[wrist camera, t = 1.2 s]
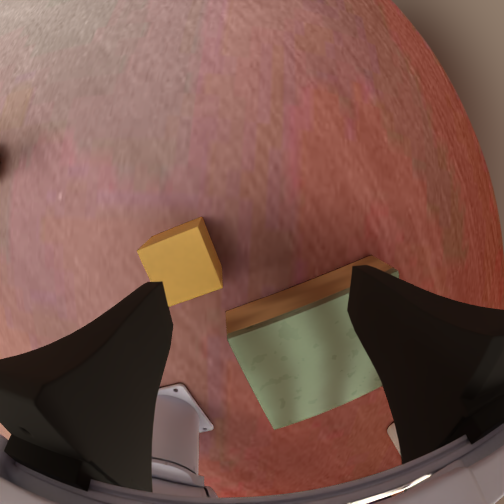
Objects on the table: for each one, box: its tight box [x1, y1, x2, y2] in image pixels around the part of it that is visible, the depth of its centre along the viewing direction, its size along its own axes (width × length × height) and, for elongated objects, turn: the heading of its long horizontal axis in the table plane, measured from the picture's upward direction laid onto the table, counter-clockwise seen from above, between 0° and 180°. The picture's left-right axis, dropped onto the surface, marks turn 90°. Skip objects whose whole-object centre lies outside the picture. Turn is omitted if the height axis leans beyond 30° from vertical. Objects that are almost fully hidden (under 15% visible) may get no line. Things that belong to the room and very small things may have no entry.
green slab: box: [226, 255, 399, 430], centre depth 23 cm, size 14×12×4 cm
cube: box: [137, 217, 223, 307], centre depth 20 cm, size 4×4×4 cm
